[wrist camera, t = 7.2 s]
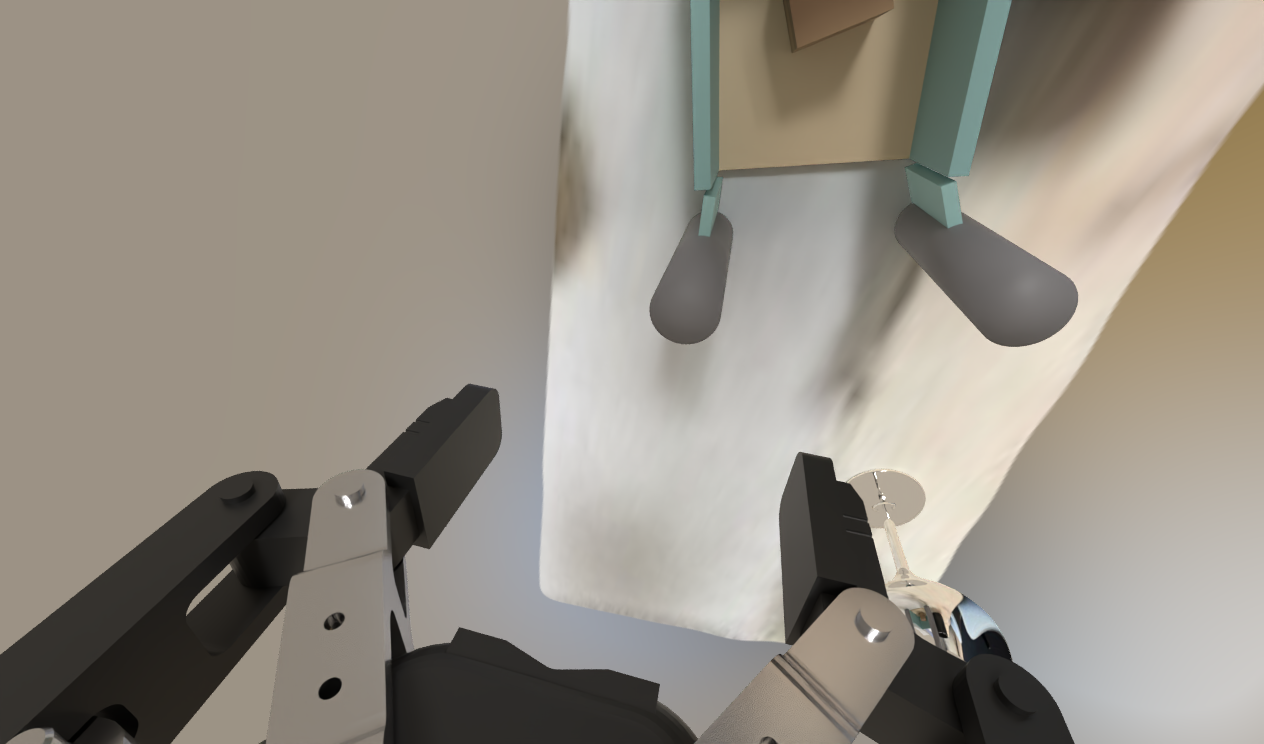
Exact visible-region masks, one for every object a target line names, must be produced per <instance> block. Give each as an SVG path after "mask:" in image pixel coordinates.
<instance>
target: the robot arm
mask: <svg viewBox="0 0 1264 744" xmlns="http://www.w3.org/2000/svg"><path fill="white" fill-rule="evenodd" d="M501 439H502V428H501V415H500V403H499V394H498V391H497V390H496V389H493V388H488V387H483V386H478V385H473V384H468V385H466V386H465V387H464V388H463V389H462V390H461V391H460V392H459V393H458V394H457V395H456V396H455V397H454V398H453V399H449V398H445V399H443V400H442V401H440V402H438V403H436V404H434V405H432V406H430V407H428V408H427V409H426V410H425V411H424V412H423V413H422V414H421V415H420V416H419V417H418V418H417V419H416V422H413V423H412V424H411V425H410V426H409V427H408V428H407V429H406V432H403V433H402V434H401V435H400V436H399V437H398V438H397V439H396V440H395V441H394V442H393V443H392V444H391V445H390V446H389V447H388V448H387V449H386V450H385V451H384V452H383V453H382V454H381V455H380V456H379V457H378V458H377V459H376V460H375V461H373V462H372V464H370V466H368V467H367V469H358V470H351V471H347V472H344V473H341V474H338V475H336V476H334V477H332V478H330V479H329V480H328V481H326V482H325V483H323V484H322V485H321V486H320V487H319V488H313V489H311V488H310V489H281V487H280V485H279V482H278V480H277V478H276V477H275V476H274V475H273V474H271V473H268V472H262V471H251V472H245V473H241V474H237V475H234V476H231V477H229V478H226V479H224V480H222V481H220V482H218V483H217V484H215V485H214V486H212V487H211V488H209V489H208V490H207V491H206V492H204V493H203V494H202V495H201V496H200V497H198V498H197V499H196V500H194V501H193V502H192V503H190V504H189V505H188V506H187V507H185V508H184V509H183V510H182V511H180V512H179V513H178V514H177V515H175V516H174V517H173V518H172V519H171V520H169V521H168V522H167V523H165V524H164V525H163V526H162V527H160V528H159V529H158V530H157V531H155V532H154V533H153V534H152V535H150V536H149V537H148V538H146V539H145V540H144V541H143V542H142V543H141V544H139V545H138V546H136V547H135V548H134V549H133V550H132V551H130V552H129V553H128V554H126V555H125V556H124V557H123V558H121V559H120V560H119V561H118V562H116V563H115V564H114V565H113V566H111V567H110V568H109V569H108V570H106V571H105V572H104V573H102V574H101V575H100V576H99V577H98V578H96V579H95V580H94V581H92V582H91V583H90V584H89V585H88V586H86V587H85V588H84V589H82V590H81V591H80V592H79V593H77V594H76V595H75V596H74V597H72V598H71V599H70V600H69V601H67V602H66V603H65V604H64V605H62V606H61V607H60V608H59V609H57V610H56V611H55V612H53V613H52V614H51V615H50V616H49V617H47V618H46V619H45V620H43V621H42V622H41V623H40V624H38V625H37V626H36V627H35V628H33V629H32V630H31V631H30V632H28V633H27V634H26V635H25V636H24V637H22V638H21V639H20V640H18V641H17V642H16V643H15V644H13V645H12V646H11V647H9V648H8V649H7V650H6V651H4V652H3V653H2V654H1V655H0V744H171V742H172V741H173V740H174V739H175V737H176V736H177V735H178V734H179V733H180V731H181V730H182V729H183V728H184V727H185V725H186V724H187V723H188V722H189V721H190V719H191V718H192V717H193V716H194V715H195V713H196V712H197V711H198V710H199V709H200V707H201V706H202V705H203V704H204V703H205V701H206V700H207V699H208V698H209V697H210V695H211V694H212V693H213V692H214V691H215V689H216V688H217V687H218V686H219V685H220V683H221V682H222V681H223V680H224V679H225V677H226V676H227V675H228V674H229V673H230V671H231V670H232V669H233V668H234V666H235V665H236V664H237V663H238V662H239V661H240V659H241V658H242V657H243V656H244V654H245V653H246V652H247V651H248V650H249V649H250V647H251V646H252V645H253V644H254V642H255V641H256V640H257V639H258V638H259V636H260V635H261V634H262V633H263V632H264V630H265V629H266V628H267V627H268V626H269V624H270V623H271V622H272V621H273V620H274V618H275V617H276V616H277V615H278V614H279V612H280V611H281V610H282V609H283V607H284V606H285V605H286V610H285V618H284V624H283V631H282V638H281V645H280V651H279V658H278V665H277V671H276V678H275V685H274V691H273V698H272V705H271V712H270V718H269V725H268V732H267V738H266V740H264V741H262V742H261V743H259V744H852V743H853V741H854V740H855V738H856V737H857V735H858V733H859V732H861V733H863V734H865V735H866V736H868V737H869V738H871V739H872V740H874V741H875V742H877V743H879V744H1074V741H1073V739H1072V737H1071V734H1070V732H1069V730H1068V727H1067V725H1066V723H1065V721H1064V718H1063V716H1062V713H1061V711H1060V709H1059V707H1058V705H1057V703H1056V702H1055V700H1054V699H1053V697H1052V696H1051V695H1050V693H1049V692H1048V691H1047V690H1046V688H1045V687H1044V686H1043V685H1042V684H1041V683H1040V682H1039V681H1038V680H1037V679H1036V678H1035V677H1034V676H1032V675H1031V674H1030V673H1029V672H1027V671H1026V670H1025V669H1023V668H1022V667H1020V666H1018V665H1017V664H1016V663H1014V662H1012V661H1010V660H1008V659H1005V658H1003V657H1000V656H996V655H992V654H980V655H977V656H974V657H973V658H972V659H971V660H970V661H969V662H968V663H967V662H965V661H963V660H961V659H959V658H957V657H956V656H954V655H952V654H950V653H948V652H946V651H944V650H942V649H941V648H939V647H937V646H935V645H933V644H931V643H929V642H928V641H926V640H924V639H923V638H921V637H920V636H919V635H917V634H916V633H915V632H913V629H912V627H911V625H910V623H909V621H908V619H907V618H906V616H905V615H904V614H903V612H902V611H901V610H900V609H899V608H898V607H897V606H896V605H895V604H894V603H893V602H892V601H890V600H889V598H888V595H887V591H886V587H885V583H884V579H883V576H882V572H881V568H880V564H879V560H878V556H877V552H876V548H875V544H874V540H873V539H872V533H871V529H870V525H869V523H868V517H867V513H866V509H865V505H864V502H863V500H862V499H861V497H860V496H859V495H858V493H857V492H856V491H855V489H854V488H853V486H852V485H851V484H850V483H845V482H840V481H836V477H835V472H834V467H833V462H832V460H831V458H827V457H822V456H817V455H812V454H808V453H803V452H799V453H798V454H797V456H796V459H795V461H794V464H793V467H792V470H791V473H790V476H789V478H788V481H787V484H786V487H785V490H784V492H783V495H782V499H781V504H780V511H779V528H780V547H781V566H782V585H783V604H784V623H785V643H786V644H789V645H793V646H792V647H791V648H790V649H789V650H788V651H787V652H786V653H785V654H784V655H783V656H782V655H781V654H779V655H777V656H776V657H774V658H773V659H772V660H771V661H770V662H769V663H768V664H767V665H766V666H765V668H764V669H763V670H762V671H761V672H760V673H759V674H758V675H757V676H756V677H755V678H754V679H753V680H752V681H751V683H750V684H749V685H748V686H747V687H746V688H745V689H744V690H743V691H742V692H741V693H740V694H739V696H738V697H737V698H736V699H735V700H734V701H733V702H732V703H731V704H730V705H729V707H727V709H726V710H725V711H724V712H723V713H722V714H721V715H720V716H719V717H718V718H717V719H716V721H715V722H714V723H713V724H712V725H711V726H710V727H709V728H708V729H707V730H706V731H705V732H704V733H703V734H702V736H701V737H700V738H699V739H698V738H697V737H696V736H695V734H694V733H693V732H692V730H691V729H690V728H689V727H688V726H687V725H686V723H685V722H684V721H683V720H682V719H681V718H680V717H679V716H678V715H676V714H675V713H674V712H673V711H671V710H670V709H669V708H668V707H666V706H665V705H663V704H662V703H660V702H659V701H657V699H658V692H659V686H660V684H657V683H654V682H651V681H647V680H644V679H640V678H637V677H633V676H629V675H626V674H622V673H619V672H615V671H612V670H608V669H605V670H602V669H593V670H590V669H583V670H556V669H551V668H548V667H546V666H545V665H543V664H542V663H540V662H539V661H537V660H536V659H534V658H532V657H531V656H529V655H528V654H526V653H525V652H523V651H522V650H520V649H518V648H517V647H515V646H514V645H512V644H511V643H509V642H508V641H506V640H503V639H499V638H495V637H492V636H488V635H485V634H481V633H477V632H474V631H471V630H467V629H464V628H459V629H458V631H457V632H456V634H455V636H454V638H453V640H452V642H451V643H443V644H436V645H430V646H426V647H423V648H419V649H416V650H414V645H413V639H412V633H411V624H410V609H409V596H408V583H407V582H408V581H407V569H406V559H405V554H406V553H407V552H408V550H409V549H410V548H411V546H412V545H416V546H420V547H423V548H427V549H430V548H431V546H432V545H433V543H434V542H435V541H436V539H437V538H438V537H439V535H440V534H441V532H442V531H443V529H444V528H445V527H446V525H447V524H448V522H449V521H450V519H451V518H452V517H453V515H454V514H455V512H456V511H457V510H458V508H459V507H460V505H461V504H462V502H463V501H464V500H465V498H466V497H467V495H468V494H469V492H470V491H471V489H472V488H473V487H474V485H475V484H476V483H477V481H478V480H479V478H480V477H481V475H482V474H483V473H484V471H485V469H486V468H487V467H488V465H489V464H490V463H491V461H492V460H493V458H494V457H495V455H496V454H497V452H498V450H499V447H500V443H501ZM228 564H230V565H231V567H232V569H233V570H232V571H231V572H230V573H229V574H228V575H227V576H226V577H225V578H224V579H223V580H222V581H221V582H220V583H219V584H218V585H217V586H216V587H215V588H214V589H213V590H212V591H211V592H210V593H209V594H208V595H207V596H206V597H205V598H204V599H203V600H202V601H201V602H200V603H199V604H198V605H197V606H196V607H195V608H194V609H193V610H192V611H191V612H190V613H189V614H188V615H187V616H186V612H187V610H188V607H189V605H190V603H191V602H192V600H193V599H194V598H195V597H196V596H197V594H198V593H200V591H201V590H202V589H203V588H205V587H206V586H207V585H208V584H209V583H210V582H211V581H212V580H213V579H214V578H215V577H216V576H217V575H218V574H219V573H220V572H221V571H222V570H223V569H224V568H225V567H226V566H227V565H228Z"/></svg>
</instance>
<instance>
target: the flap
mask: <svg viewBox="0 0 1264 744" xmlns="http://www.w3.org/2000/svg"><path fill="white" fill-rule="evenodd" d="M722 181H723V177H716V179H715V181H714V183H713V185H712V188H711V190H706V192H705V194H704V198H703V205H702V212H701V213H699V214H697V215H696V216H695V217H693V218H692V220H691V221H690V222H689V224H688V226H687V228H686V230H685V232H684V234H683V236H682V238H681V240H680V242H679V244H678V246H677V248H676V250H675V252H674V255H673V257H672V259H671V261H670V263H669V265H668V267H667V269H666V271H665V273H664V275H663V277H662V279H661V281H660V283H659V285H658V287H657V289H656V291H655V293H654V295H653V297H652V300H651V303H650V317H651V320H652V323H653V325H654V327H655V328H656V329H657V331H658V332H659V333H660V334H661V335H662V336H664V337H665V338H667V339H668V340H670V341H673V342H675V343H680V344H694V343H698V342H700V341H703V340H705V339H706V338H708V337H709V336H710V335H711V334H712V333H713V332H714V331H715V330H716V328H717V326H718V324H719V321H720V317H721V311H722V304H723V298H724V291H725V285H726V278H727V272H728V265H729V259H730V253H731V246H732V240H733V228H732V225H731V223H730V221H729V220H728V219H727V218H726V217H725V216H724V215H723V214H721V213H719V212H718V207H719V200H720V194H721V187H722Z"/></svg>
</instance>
